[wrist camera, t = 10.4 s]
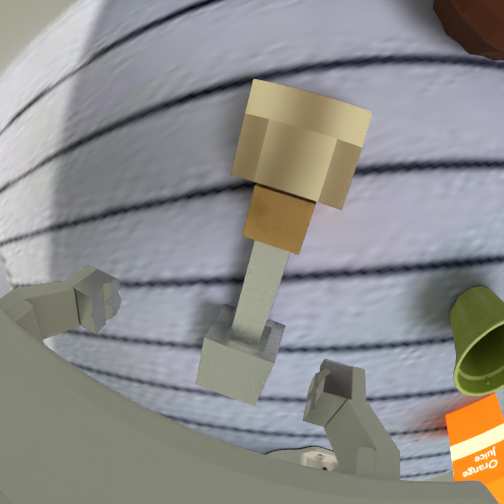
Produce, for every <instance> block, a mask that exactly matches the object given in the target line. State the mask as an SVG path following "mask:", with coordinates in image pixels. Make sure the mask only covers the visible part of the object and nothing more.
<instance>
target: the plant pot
mask: <svg viewBox="0 0 504 504" xmlns="http://www.w3.org/2000/svg"><path fill="white" fill-rule="evenodd" d="M450 323H451V328H452V333H453V338H454V344H455V351H456V365H455V368H454V382H455V386H456V387H457V389H458V390H459V391H460V392H462V393H463V394H466V395H470V396H480V395H486V394H489V393H492V392H495V391H497V390H499V389H501V388H502V387H504V302H503V301H502V300H501V299H500V298H499V297H498V296H497V295H496V294H495V293H494V292H492V291H491V290H490V289H488V288H486V287H482V286H476V287H472V288H470V289H468V290H466V291H465V292H463V293H462V294H461V295H460V296H459V297H458V298H457V300H456V302H455V304H454V306H453V308H452V309H451V311H450Z"/></svg>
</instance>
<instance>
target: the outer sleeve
mask: <svg viewBox="0 0 504 504" xmlns="http://www.w3.org/2000/svg"><path fill="white" fill-rule="evenodd" d="M236 310H237V309H235V308H233V307H230V306H227V305H224V306H223V308H222V309H221V311H220V313H219V314H218V316H217V317H216V319H215V321H214V322H213V324H212V326H211V327H210V329H209V331H208V332H207V334H206V335H205V337H204V341H203V347H202V352H201V358H200V363H199V369H198V375H197V380H196V384H197V385H200V386H202V387H205V388H207V389H210V390H212V391H215V392H217V393H220V394H223V395H225V396H228V397H231V398H233V399H236V400H239V401H242V402H245V403H247V404H250V405H253V406H255V404H256V402H257V400H258V398H259V396H260V394H261V391H262V389H263V387H264V385H265V383H266V381H267V378H268V376H269V374H270V372H271V370H272V367H273V365H274V363H275V359H276V356H277V353H278V349H279V346H280V342H281V339H282V336H283V332H284V329H285V326H284V325H281V324H278V323H275V322H272V321H269V320H267V322H266V325H265V328H264V330H263V333H262V336H261V338H260V341H259V344H258V346H257V348H256V347H253V346H250V345H247V344H244V343H242V342H239V341H236V340H234V339H231V338H229V336H230V332H231V329H232V325H233V321H234V317H235V314H236Z"/></svg>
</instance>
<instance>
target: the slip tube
mask: <svg viewBox="0 0 504 504" xmlns="http://www.w3.org/2000/svg"><path fill="white" fill-rule="evenodd" d="M315 204H316V201H314V200H311V199H308V198H304V197H301V196H298V195H295V194H292V193H289V192H286V191H283V190H279V189H276V188H273V187H270V186H266V185H263V184H260V183H257V184H256V185H255V186H254V191H253V195H252V199H251V203H250V207H249V211H248V215H247V219H246V223H245V227H244V231H243V235H242V236H244V237H247V238H250V239H253V240H255V242H254V246H253V249H252V253H251V257H250V261H249V264H248V268H247V272H246V276H245V280H244V283H243V287H242V291H241V295H240V298H239V302H238V306H237V310H236V314H235V317H234V321H233V325H232V329H231V332H230V336H229V338H231V339H234V340H236V341H239V342H242V343H244V344H247V345H250V346H253V347H256V348H257V346H258V344H259V341H260V338H261V336H262V333H263V330H264V328H265V325H266V322H267V319H268V316H269V313H270V311H271V308H272V305H273V302H274V299H275V296H276V293H277V290H278V287H279V284H280V282H281V279H282V276H283V273H284V270H285V267H286V264H287V261H288V258H289V255H290V252H292V253H295V254H298V255H299V252H300V249H301V246H302V243H303V240H304V238H305V235H306V232H307V229H308V226H309V223H310V220H311V216H312V213H313V210H314V207H315Z"/></svg>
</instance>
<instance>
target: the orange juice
mask: <svg viewBox="0 0 504 504" xmlns="http://www.w3.org/2000/svg"><path fill="white" fill-rule="evenodd" d="M445 417H446V422H447V428H448V434H449V440H450V449H451V457H452V464H453V472H454V481H467V480H478V481H480V482H482V483H483V484H484V485H485V486H486V487H487V488H488V489H489V491H490V492H491V493H492V494H493V496H494V497H495V498H496V500H497V501H498V502H499V504H504V418H503V415H502V412H501V409H500V406H499V403H498V399H497V397H496V394H495V393H494V394H492V395H490V396H488V397H486V398H484V399H482V400H480V401H478V402H475V403H473V404H471V405H469V406H466V407H464V408H462V409H459V410H457V411H455V412H452V413H450V414H447V415H445Z"/></svg>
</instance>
